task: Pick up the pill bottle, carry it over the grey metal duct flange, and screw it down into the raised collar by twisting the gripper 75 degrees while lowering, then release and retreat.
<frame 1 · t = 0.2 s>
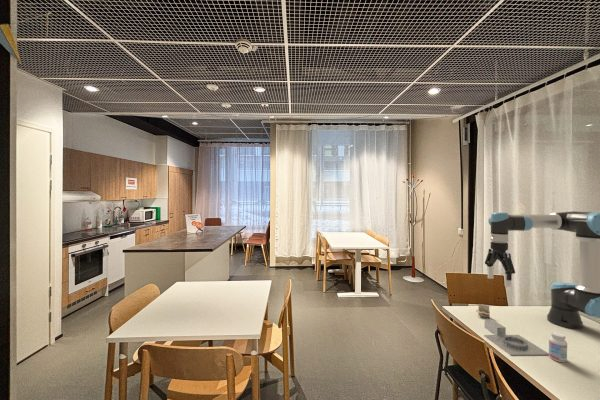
hand: (498, 282, 148), 28 cm above the table, fingers open, 13 cm apart
pill bottle: (557, 359, 127), on the table
architectural model: (483, 317, 172), on the table
duct collar: (514, 345, 138), on the table
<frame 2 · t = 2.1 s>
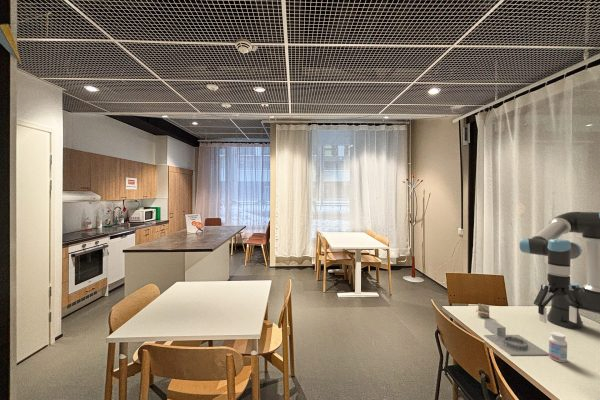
hand: (557, 321, 126), 17 cm above the table, fingers open, 13 cm apart
nothing on the table moved.
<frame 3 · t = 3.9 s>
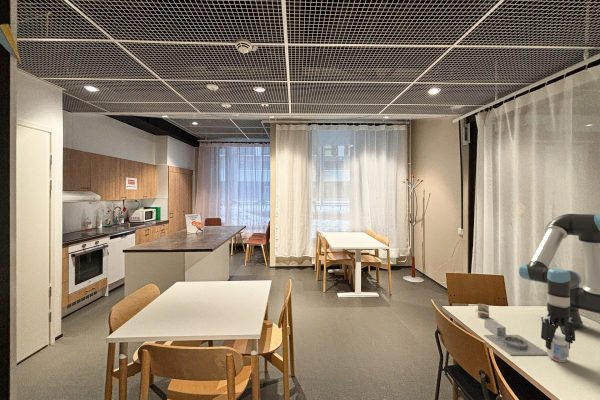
hand: (557, 355, 127), 1 cm above the table, fingers closed on pill bottle, 6 cm apart
pill bottle: (557, 359, 127), on the table, touching gripper
everything else where it was.
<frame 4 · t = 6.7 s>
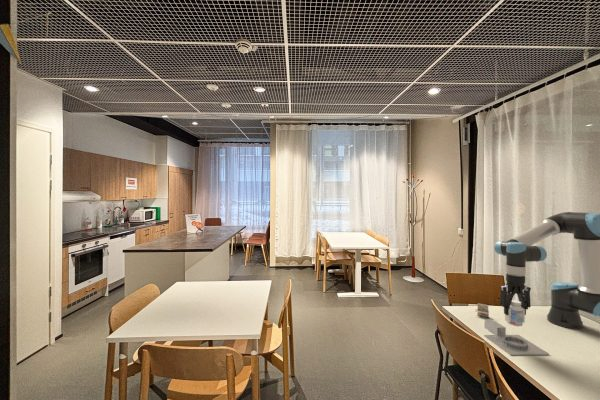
hand: (514, 321, 138), 12 cm above the table, fingers closed on pill bottle, 6 cm apart
pill bottle: (514, 324, 138), point 10 cm above the table, touching gripper
everything else where it was.
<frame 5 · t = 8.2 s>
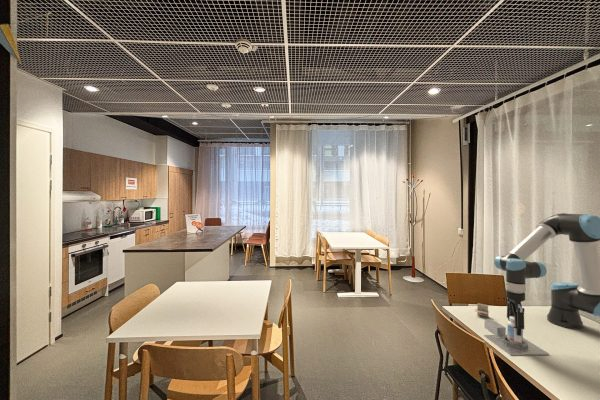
hand: (514, 337, 138), 4 cm above the table, fingers closed on pill bottle, 6 cm apart
pill bottle: (514, 341, 138), point 2 cm above the table, touching gripper
everything else where it was.
when the fingers open (3 cm above the table, at t = 9.3 s): pill bottle drops 1 cm, resting on duct collar.
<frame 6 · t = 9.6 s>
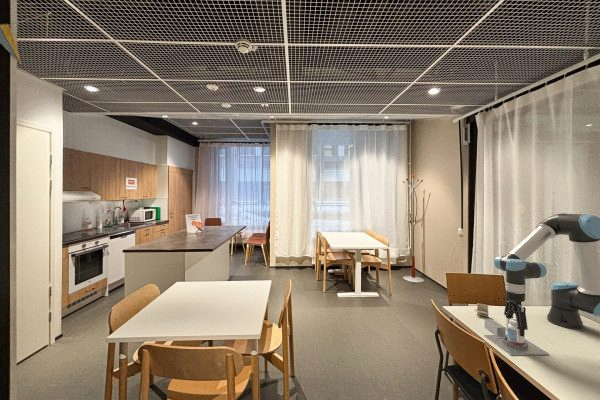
hand: (514, 336, 138), 4 cm above the table, fingers open, 10 cm apart
pill bottle: (515, 344, 138), resting on duct collar
everything else where it was.
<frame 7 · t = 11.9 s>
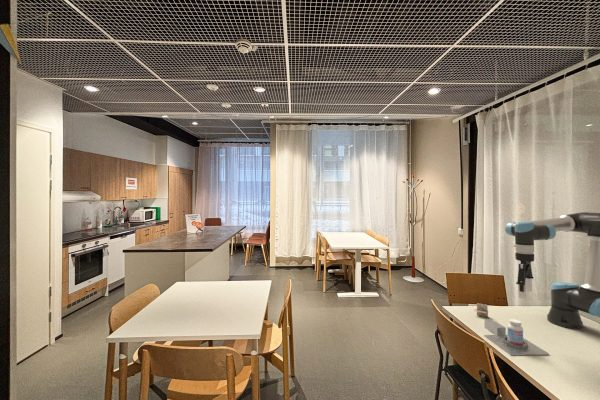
hand: (525, 294, 143), 23 cm above the table, fingers open, 13 cm apart
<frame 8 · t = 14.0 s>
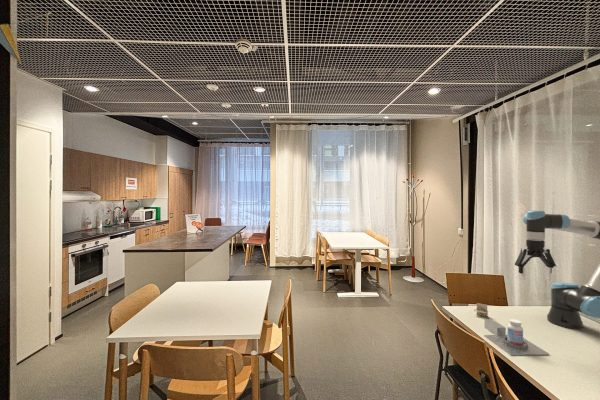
hand: (534, 279, 150), 29 cm above the table, fingers open, 13 cm apart
at the end: pill bottle 0.1 cm from the duct collar (horizontally); pill bottle tilted 0°; pill bottle resting on duct collar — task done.
